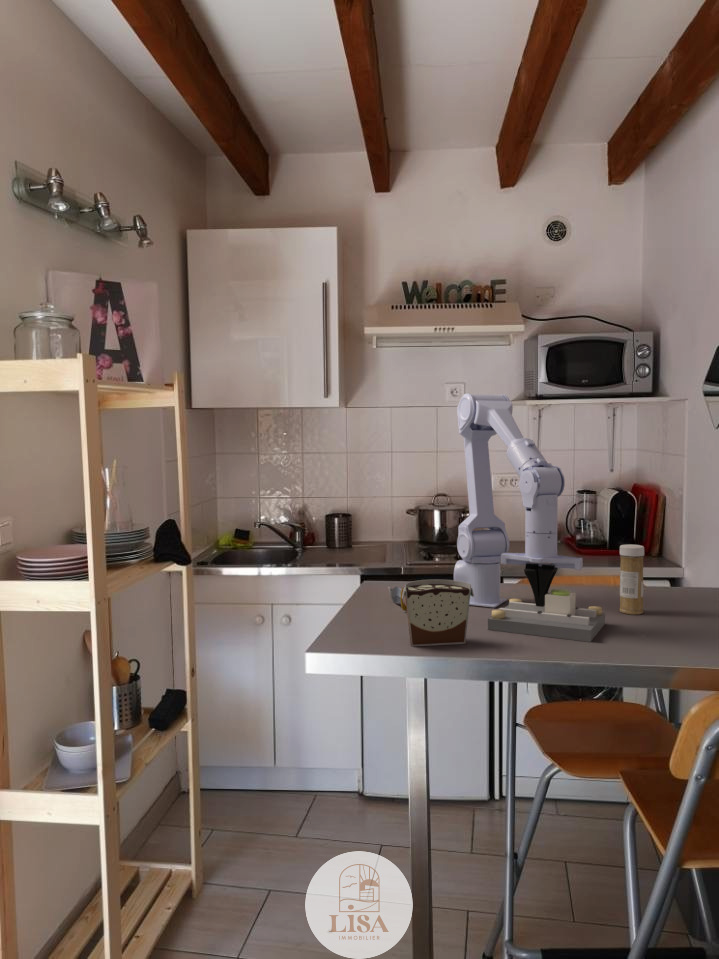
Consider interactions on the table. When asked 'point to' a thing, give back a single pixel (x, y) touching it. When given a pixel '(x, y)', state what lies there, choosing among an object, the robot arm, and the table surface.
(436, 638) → the food container
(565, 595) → the block
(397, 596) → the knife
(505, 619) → the levelling base
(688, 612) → the table surface
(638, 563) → the sprinkles bottle
